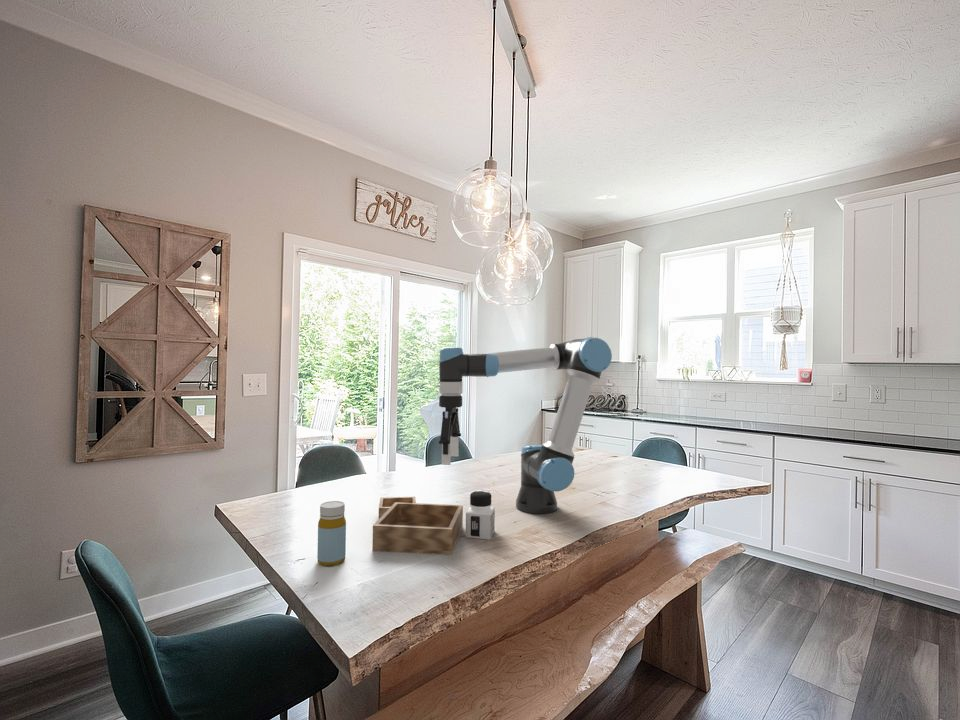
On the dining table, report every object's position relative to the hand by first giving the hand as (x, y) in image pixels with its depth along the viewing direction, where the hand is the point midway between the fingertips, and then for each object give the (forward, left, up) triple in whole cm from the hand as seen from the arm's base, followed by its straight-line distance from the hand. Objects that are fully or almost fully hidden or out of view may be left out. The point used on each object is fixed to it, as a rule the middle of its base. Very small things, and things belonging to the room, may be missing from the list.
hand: (450, 460), depth 151 cm
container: (-11, +6, -22) cm, 25 cm away
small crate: (+18, -4, -21) cm, 28 cm away
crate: (+7, +11, -21) cm, 25 cm away
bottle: (+26, +31, -22) cm, 46 cm away
